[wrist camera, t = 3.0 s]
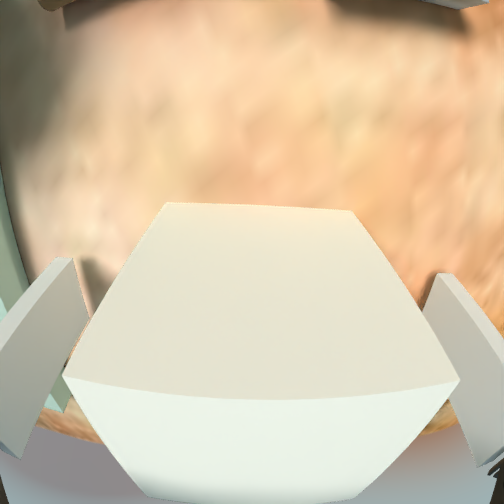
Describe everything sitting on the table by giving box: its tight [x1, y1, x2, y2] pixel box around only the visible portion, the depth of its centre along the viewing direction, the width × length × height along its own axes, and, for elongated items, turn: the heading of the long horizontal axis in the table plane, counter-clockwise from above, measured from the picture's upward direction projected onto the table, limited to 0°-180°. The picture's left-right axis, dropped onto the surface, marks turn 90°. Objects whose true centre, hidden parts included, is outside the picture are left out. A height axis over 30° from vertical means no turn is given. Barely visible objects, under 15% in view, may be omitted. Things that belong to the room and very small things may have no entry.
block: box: [62, 203, 460, 504], centre depth 8 cm, size 6×6×7 cm
